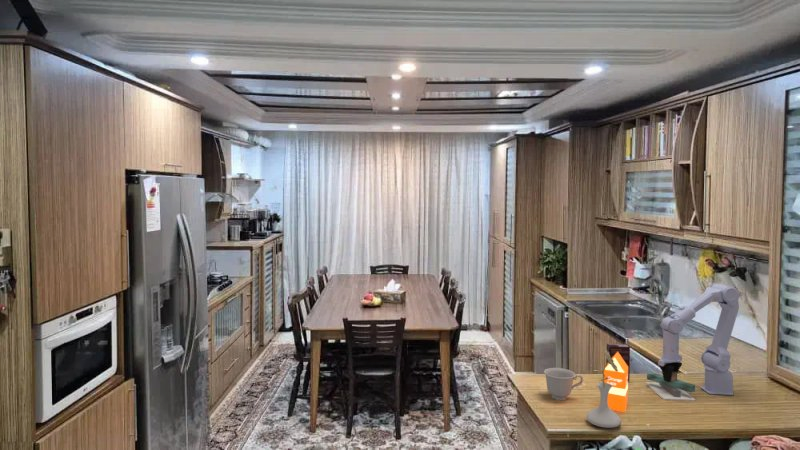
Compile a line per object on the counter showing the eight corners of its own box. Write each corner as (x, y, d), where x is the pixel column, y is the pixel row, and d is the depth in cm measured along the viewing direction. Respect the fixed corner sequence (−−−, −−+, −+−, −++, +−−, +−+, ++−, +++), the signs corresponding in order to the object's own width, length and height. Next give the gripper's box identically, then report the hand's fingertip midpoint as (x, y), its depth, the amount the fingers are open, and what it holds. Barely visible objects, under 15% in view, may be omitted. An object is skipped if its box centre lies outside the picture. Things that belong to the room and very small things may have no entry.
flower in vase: (619, 434, 168) (621, 360, 166) (583, 426, 173) (585, 354, 172) (623, 419, 179) (625, 350, 178) (589, 412, 184) (591, 345, 183)
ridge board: (674, 384, 214) (675, 377, 214) (695, 401, 196) (696, 393, 196) (645, 383, 215) (645, 376, 215) (663, 399, 197) (663, 392, 197)
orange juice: (627, 404, 193) (629, 352, 192) (624, 412, 185) (626, 358, 184) (605, 399, 197) (607, 349, 196) (602, 407, 189) (603, 355, 188)
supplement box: (625, 379, 220) (626, 343, 219) (629, 383, 215) (630, 346, 215) (605, 378, 221) (606, 343, 220) (608, 382, 216) (609, 346, 215)
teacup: (585, 405, 191) (585, 379, 191) (544, 402, 194) (545, 376, 194) (580, 393, 203) (580, 369, 203) (542, 390, 206) (542, 366, 206)
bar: (646, 379, 212) (647, 366, 212) (650, 377, 214) (651, 365, 213) (691, 392, 197) (691, 378, 197) (694, 391, 199) (695, 377, 198)
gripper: (671, 352, 197) (670, 386, 198) (690, 346, 206) (689, 379, 206) (653, 348, 203) (652, 381, 204) (672, 342, 211) (671, 374, 212)
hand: (669, 380), depth 205 cm, fingers open, 4 cm apart
